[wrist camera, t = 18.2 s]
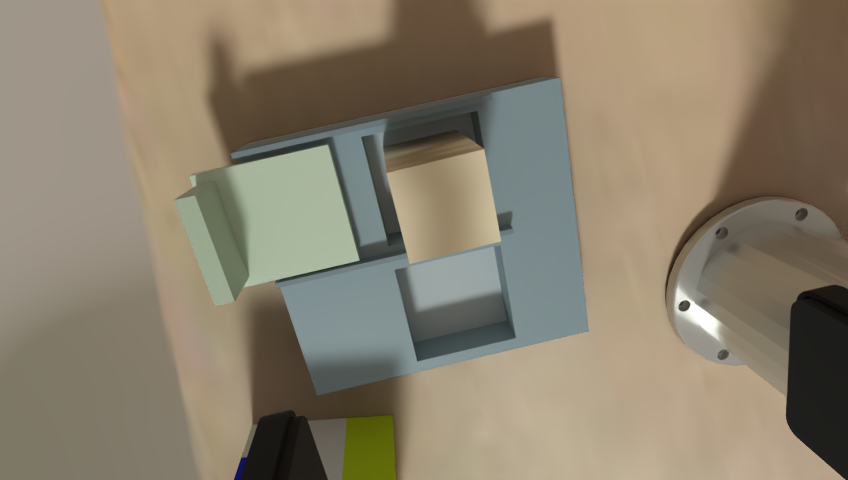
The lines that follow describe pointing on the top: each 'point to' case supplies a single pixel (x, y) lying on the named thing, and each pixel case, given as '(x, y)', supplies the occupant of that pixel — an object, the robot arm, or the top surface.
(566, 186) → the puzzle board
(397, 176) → the maple block
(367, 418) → the puzzle toy
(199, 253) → the sliding lid
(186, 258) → the top surface
